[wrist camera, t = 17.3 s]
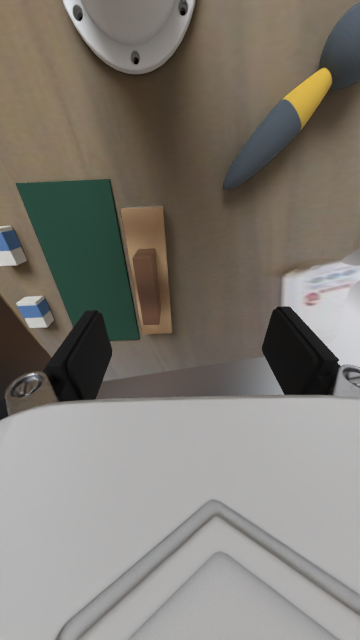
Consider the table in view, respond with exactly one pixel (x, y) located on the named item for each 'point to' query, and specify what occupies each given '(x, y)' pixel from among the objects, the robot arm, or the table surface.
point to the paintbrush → (302, 100)
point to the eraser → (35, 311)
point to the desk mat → (83, 250)
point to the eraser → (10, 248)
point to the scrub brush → (149, 266)
